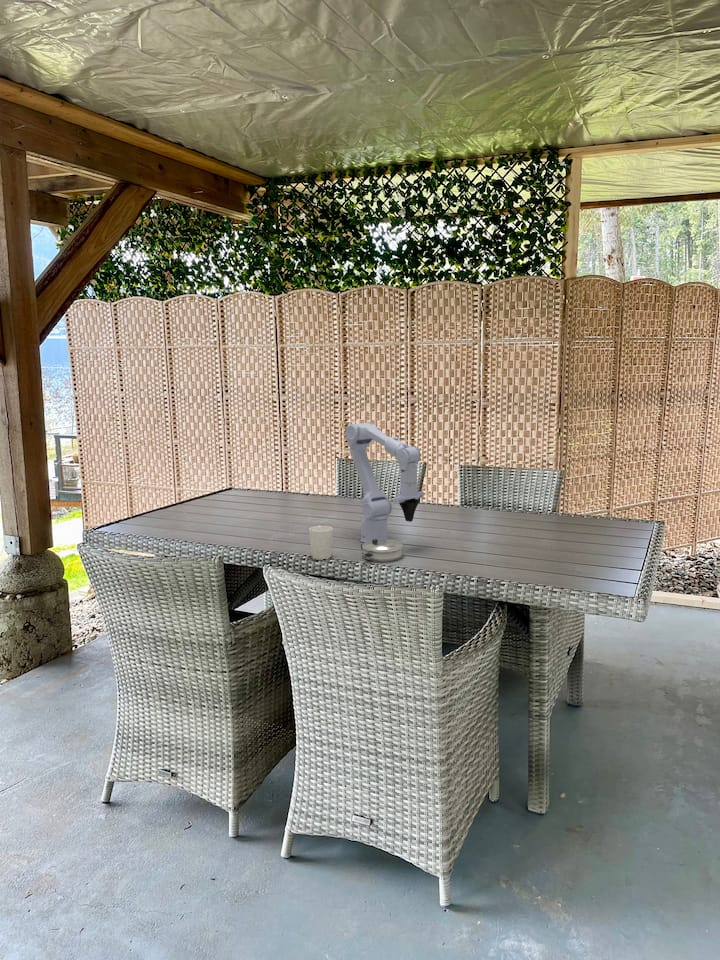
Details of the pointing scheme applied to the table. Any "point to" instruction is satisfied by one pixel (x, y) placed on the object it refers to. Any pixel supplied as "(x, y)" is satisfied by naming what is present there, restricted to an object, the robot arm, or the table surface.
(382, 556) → the grey flat round piece
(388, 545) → the lid
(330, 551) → the white cup
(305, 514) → the table surface
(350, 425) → the robot arm
